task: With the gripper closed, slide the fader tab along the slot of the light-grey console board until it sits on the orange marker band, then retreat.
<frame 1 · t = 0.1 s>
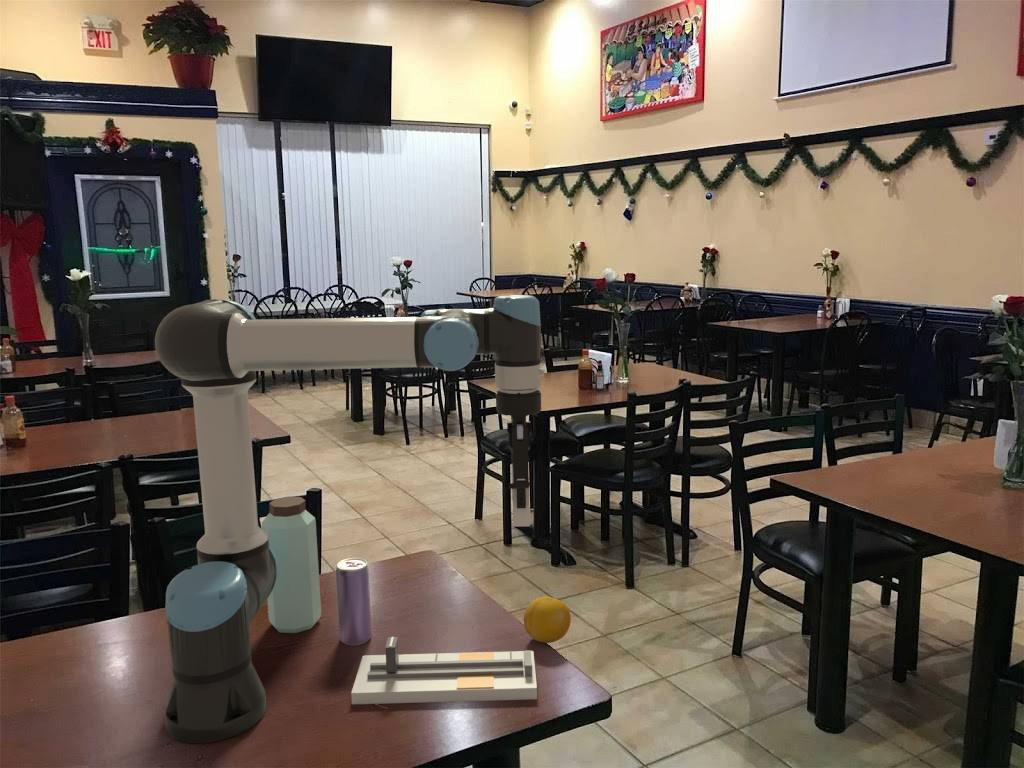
hand: (520, 512, 138), 28 cm above the table, fingers open, 13 cm apart
fader: (392, 656, 136), point 5 cm above the table, slide at 0.0 cm
fruit: (547, 640, 151), on the table
console: (446, 681, 137), on the table
beverage can: (356, 640, 152), on the table
water bottle: (295, 624, 159), on the table
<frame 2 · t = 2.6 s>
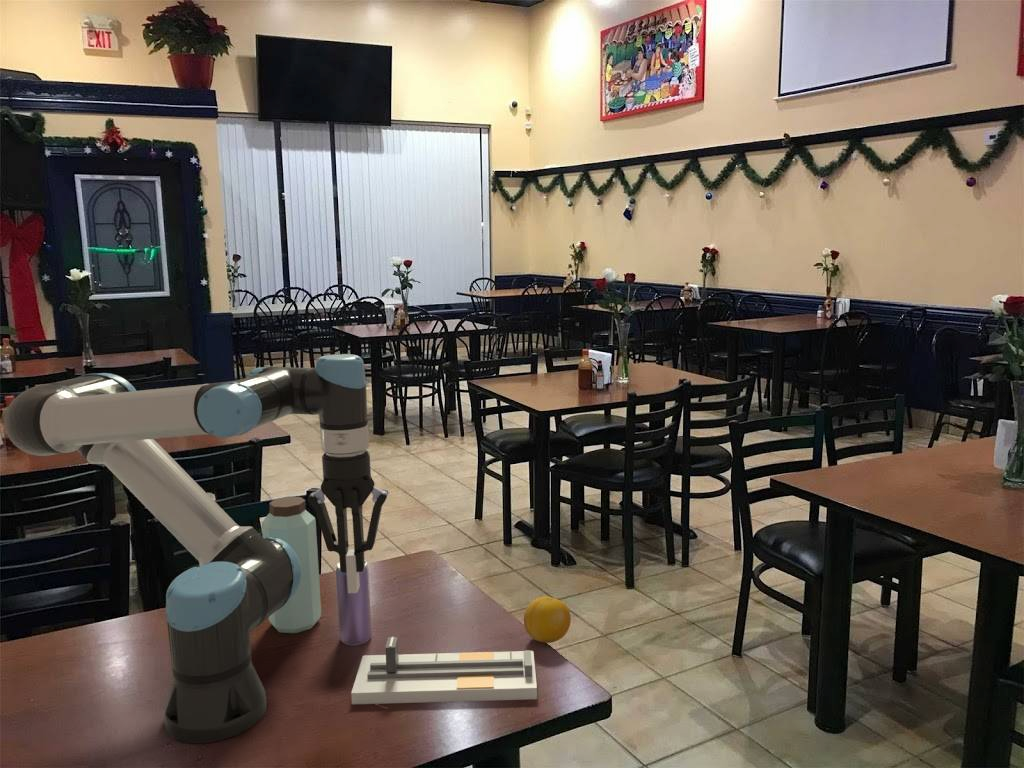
hand: (353, 589, 134), 17 cm above the table, fingers closed
nothing on the table moved.
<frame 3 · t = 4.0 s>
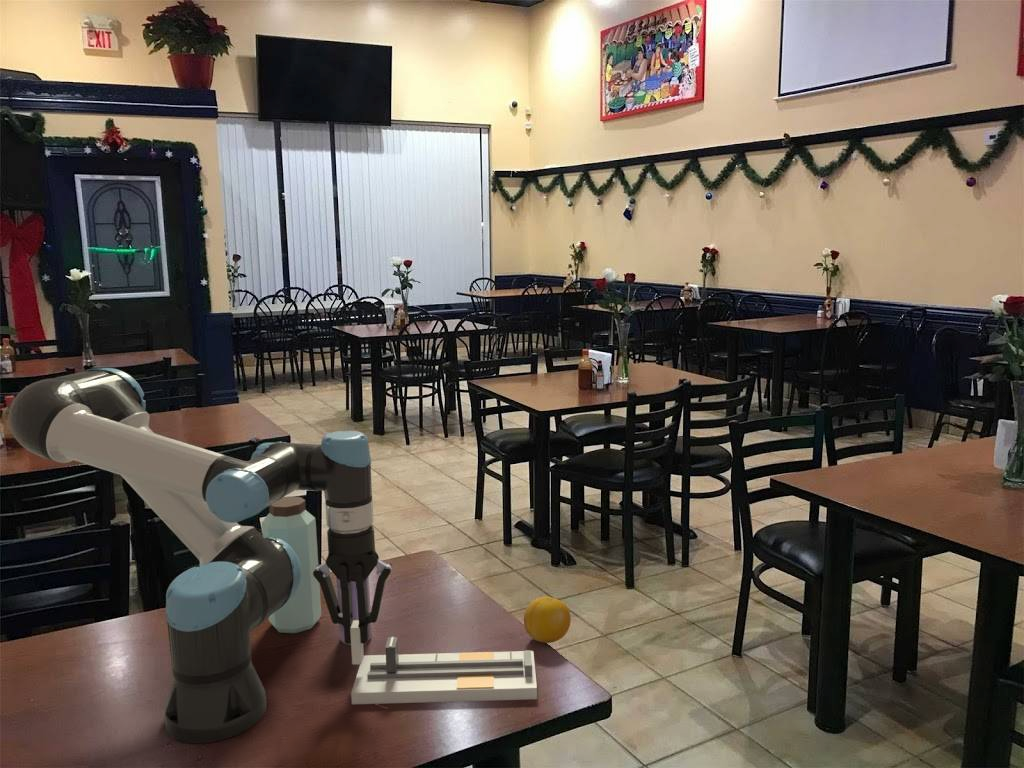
hand: (358, 660, 136), 4 cm above the table, fingers closed
nothing on the table moved.
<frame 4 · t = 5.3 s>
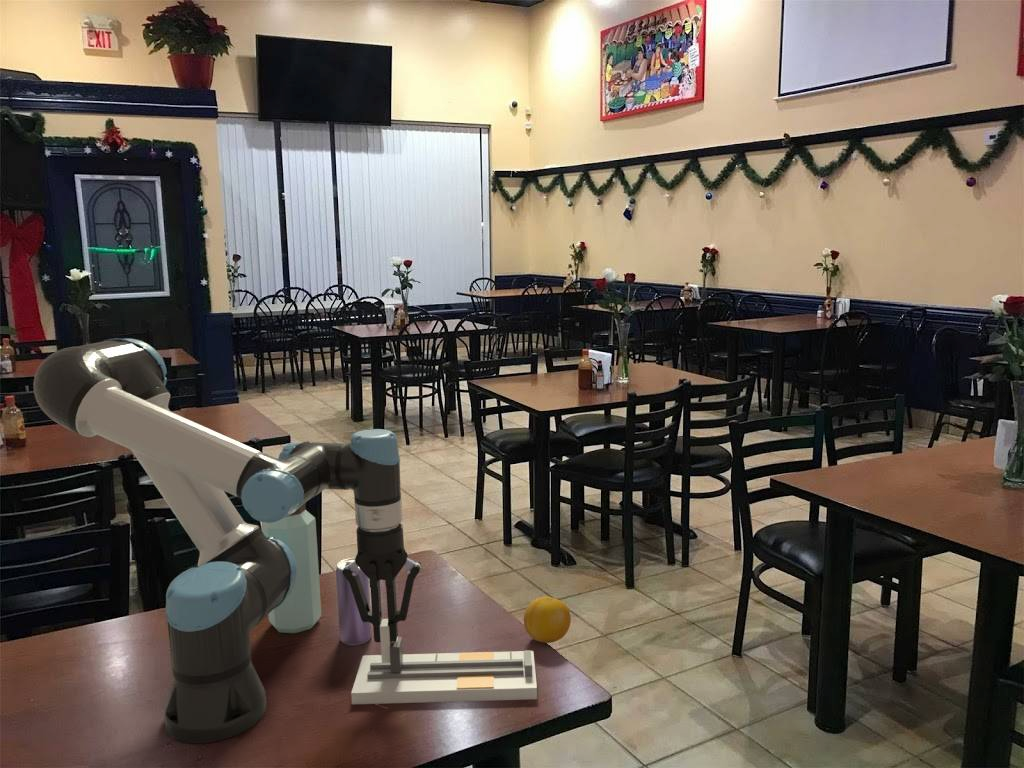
hand: (387, 658, 136), 5 cm above the table, fingers closed
fader: (396, 656, 136), point 5 cm above the table, slide at 0.7 cm, touching gripper
everything else where it was.
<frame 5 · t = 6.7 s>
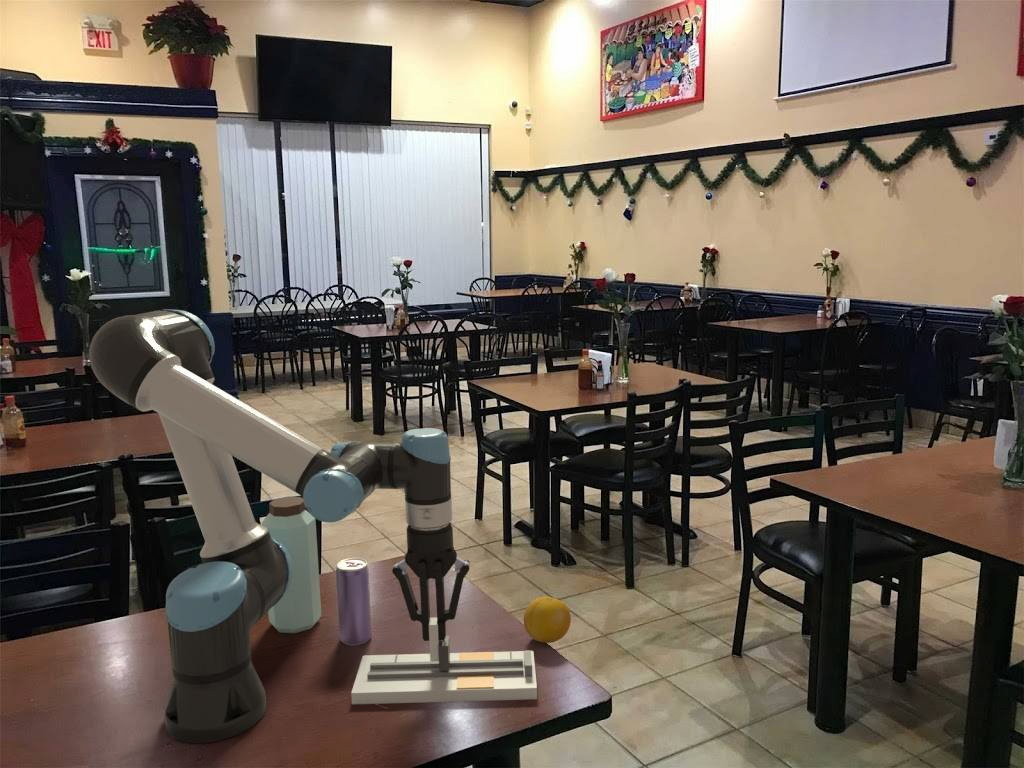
hand: (435, 657, 136), 5 cm above the table, fingers closed
fader: (444, 655, 136), point 5 cm above the table, slide at 8.8 cm, touching gripper
everything else where it was.
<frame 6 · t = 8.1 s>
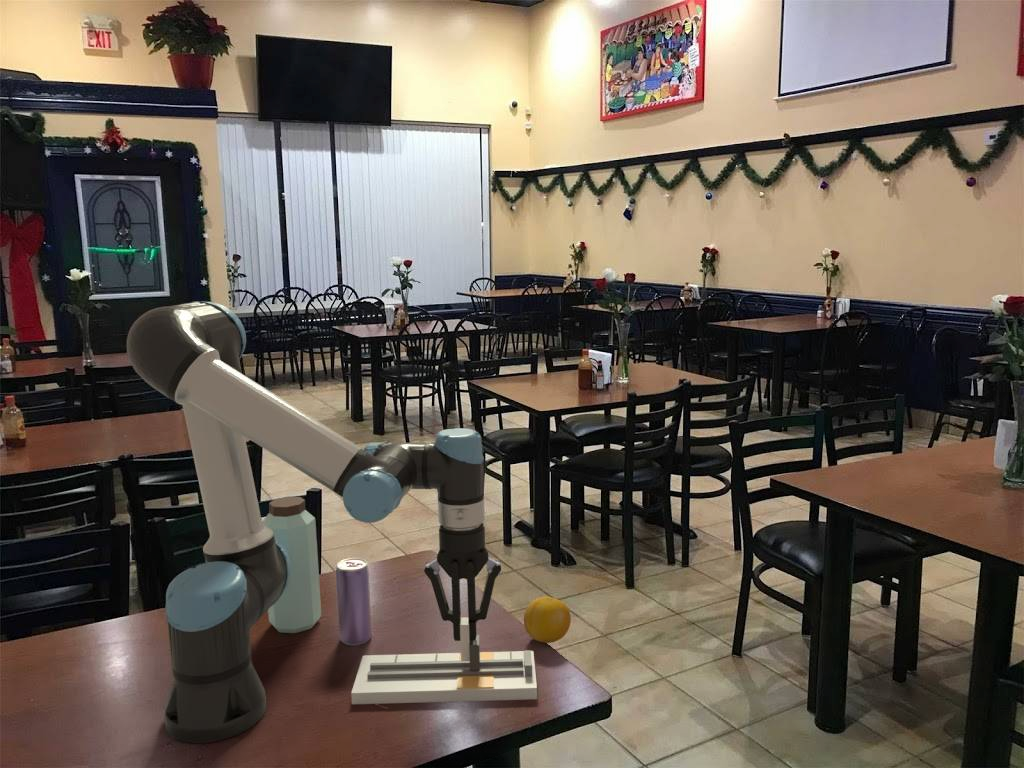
hand: (465, 657, 136), 4 cm above the table, fingers closed
fader: (474, 654, 136), point 5 cm above the table, slide at 13.9 cm, touching gripper
everything else where it was.
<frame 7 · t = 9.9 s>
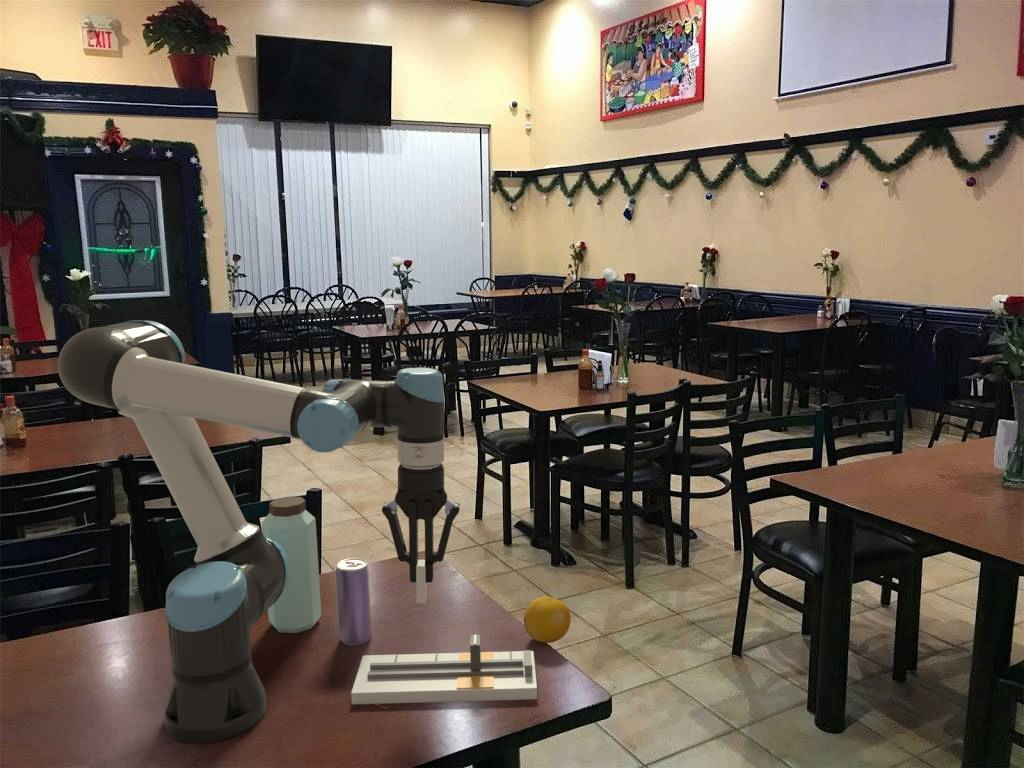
hand: (421, 599, 136), 14 cm above the table, fingers closed
fader: (475, 654, 136), point 5 cm above the table, slide at 14.0 cm
everything else where it was.
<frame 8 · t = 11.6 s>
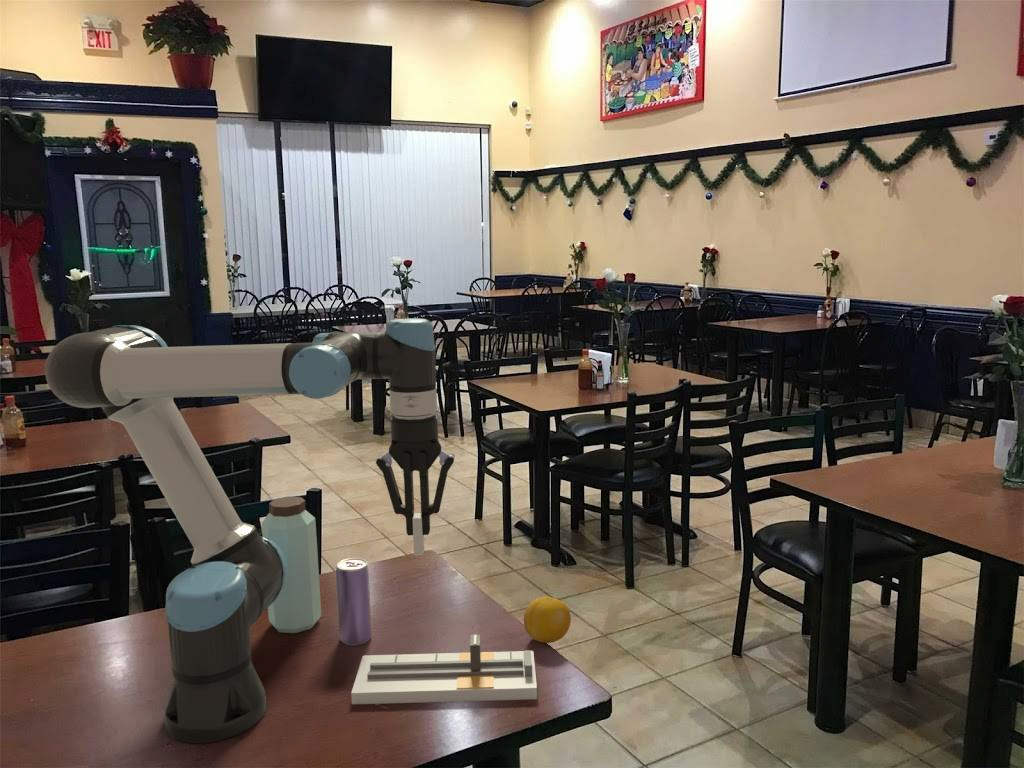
hand: (419, 552, 135), 22 cm above the table, fingers closed
nothing on the table moved.
at the end: fader slide at 14.0 cm; fader touching nothing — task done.
